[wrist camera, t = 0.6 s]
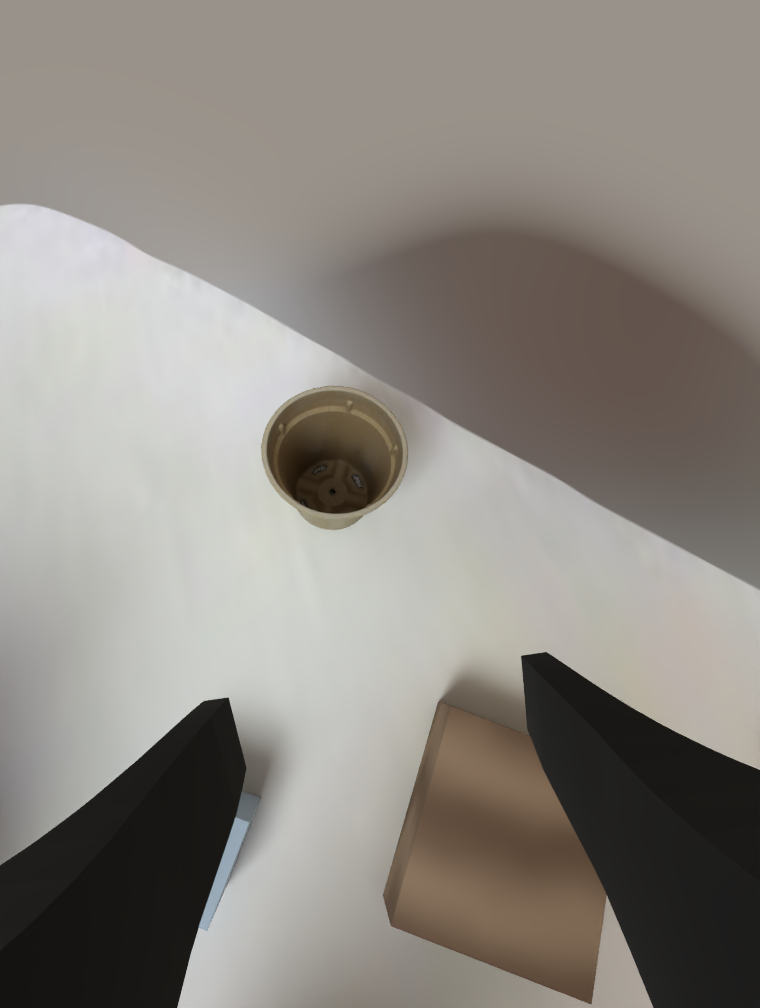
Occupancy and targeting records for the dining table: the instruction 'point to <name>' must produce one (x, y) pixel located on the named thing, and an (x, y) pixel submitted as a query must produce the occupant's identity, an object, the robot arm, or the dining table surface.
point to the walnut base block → (495, 859)
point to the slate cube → (230, 854)
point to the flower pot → (334, 454)
